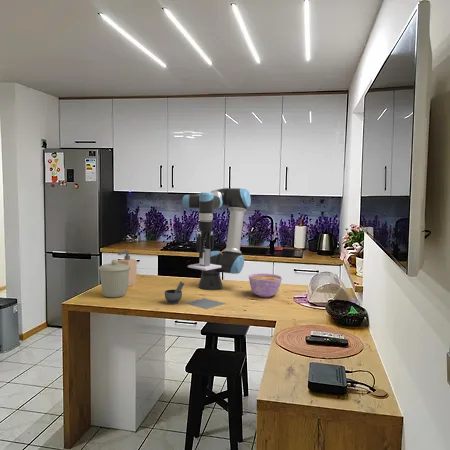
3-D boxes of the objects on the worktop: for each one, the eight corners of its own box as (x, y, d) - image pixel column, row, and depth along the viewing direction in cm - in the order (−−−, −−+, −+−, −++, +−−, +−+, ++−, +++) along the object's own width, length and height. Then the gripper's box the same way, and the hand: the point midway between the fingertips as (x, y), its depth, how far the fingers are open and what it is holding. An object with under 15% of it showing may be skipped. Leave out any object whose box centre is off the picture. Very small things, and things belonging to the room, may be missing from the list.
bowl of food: (287, 296, 269) (288, 277, 268) (267, 301, 255) (268, 281, 254) (261, 290, 283) (262, 272, 282) (241, 295, 268) (241, 276, 267)
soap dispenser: (125, 282, 294) (126, 249, 292) (136, 284, 290) (136, 250, 288) (113, 286, 282) (113, 251, 280) (124, 288, 278) (124, 253, 277)
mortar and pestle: (167, 306, 239) (167, 284, 237) (161, 302, 247) (162, 281, 246) (187, 305, 243) (187, 283, 242) (180, 300, 252) (181, 279, 251)
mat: (204, 299, 257) (204, 298, 257) (225, 304, 247) (225, 303, 247) (184, 304, 244) (184, 303, 244) (206, 310, 234) (206, 309, 234)
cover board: (203, 264, 253) (203, 246, 252) (221, 267, 245) (221, 249, 244) (187, 267, 243) (188, 248, 242) (205, 270, 235) (206, 251, 234)
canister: (92, 295, 259) (92, 259, 257) (118, 290, 272) (119, 256, 270) (109, 301, 246) (109, 263, 245) (136, 296, 260) (137, 260, 258)
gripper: (200, 222, 232) (199, 266, 235) (221, 220, 246) (219, 262, 248) (189, 221, 237) (188, 264, 239) (210, 219, 250) (209, 261, 253)
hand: (204, 263), depth 244 cm, fingers closed on cover board, 4 cm apart
